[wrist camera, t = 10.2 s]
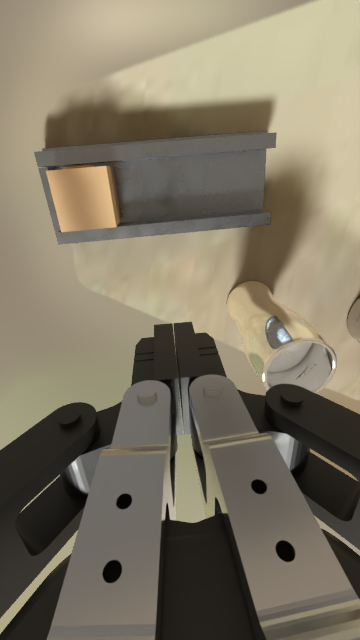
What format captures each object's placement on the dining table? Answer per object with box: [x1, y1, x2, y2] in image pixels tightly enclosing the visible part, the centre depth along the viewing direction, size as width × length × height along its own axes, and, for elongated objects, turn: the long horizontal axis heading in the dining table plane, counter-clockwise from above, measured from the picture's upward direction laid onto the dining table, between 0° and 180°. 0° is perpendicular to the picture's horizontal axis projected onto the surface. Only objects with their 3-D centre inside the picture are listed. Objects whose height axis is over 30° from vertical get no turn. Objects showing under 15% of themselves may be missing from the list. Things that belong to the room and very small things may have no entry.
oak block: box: [46, 166, 121, 232], centre depth 28 cm, size 5×5×5 cm
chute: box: [34, 131, 276, 244], centre depth 30 cm, size 22×9×4 cm, turn 95°
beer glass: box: [227, 281, 337, 393], centre depth 32 cm, size 7×7×15 cm
